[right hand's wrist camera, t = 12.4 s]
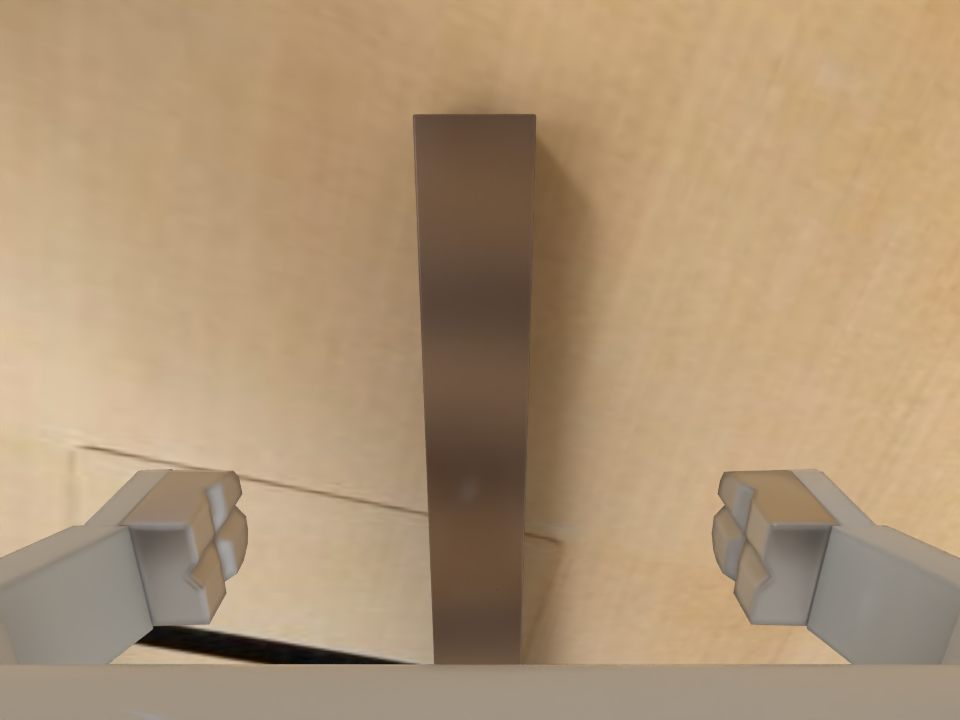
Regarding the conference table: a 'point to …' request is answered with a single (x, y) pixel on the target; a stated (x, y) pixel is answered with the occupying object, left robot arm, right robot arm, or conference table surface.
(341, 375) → the conference table surface
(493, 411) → the beam
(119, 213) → the conference table surface
